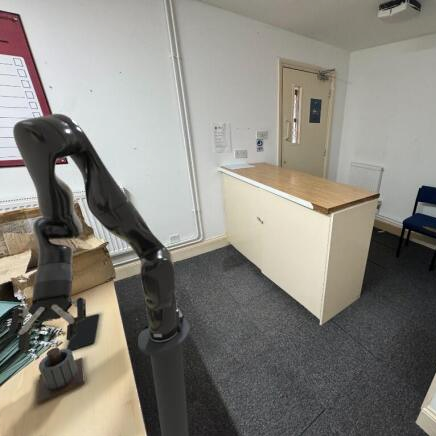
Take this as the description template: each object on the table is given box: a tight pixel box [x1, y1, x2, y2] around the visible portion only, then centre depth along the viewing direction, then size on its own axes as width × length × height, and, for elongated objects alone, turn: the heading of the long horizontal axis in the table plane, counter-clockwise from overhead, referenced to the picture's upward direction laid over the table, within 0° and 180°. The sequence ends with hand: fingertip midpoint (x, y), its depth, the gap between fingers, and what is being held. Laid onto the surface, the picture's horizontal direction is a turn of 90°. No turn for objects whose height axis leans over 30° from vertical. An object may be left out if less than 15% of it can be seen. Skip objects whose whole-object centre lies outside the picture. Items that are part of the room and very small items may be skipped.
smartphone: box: [66, 313, 100, 352], centre depth 81 cm, size 7×1×15 cm
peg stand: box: [37, 347, 85, 405], centre depth 64 cm, size 9×9×11 cm
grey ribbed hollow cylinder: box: [38, 348, 77, 389], centre depth 64 cm, size 6×6×7 cm
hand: (48, 344), depth 60 cm, fingers open, 8 cm apart
